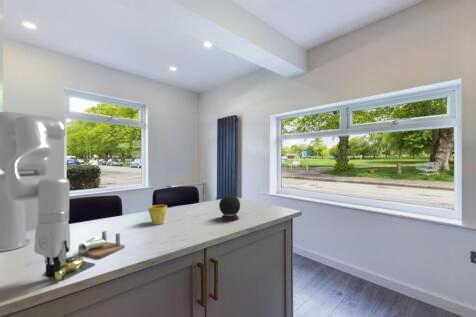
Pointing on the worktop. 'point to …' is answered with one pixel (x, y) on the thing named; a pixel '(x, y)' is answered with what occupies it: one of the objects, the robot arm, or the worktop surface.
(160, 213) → the plant pot
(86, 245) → the pipe fitting
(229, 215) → the black round ball
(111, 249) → the peg rack
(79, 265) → the gold elongated piece
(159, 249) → the worktop surface
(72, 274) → the base
